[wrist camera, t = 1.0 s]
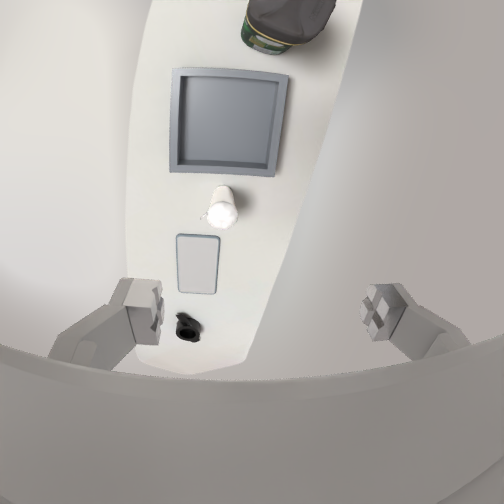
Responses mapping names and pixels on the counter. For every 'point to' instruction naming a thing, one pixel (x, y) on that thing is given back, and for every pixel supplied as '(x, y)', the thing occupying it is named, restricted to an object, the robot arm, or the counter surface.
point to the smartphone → (197, 263)
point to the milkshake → (222, 209)
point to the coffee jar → (284, 23)
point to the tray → (225, 121)
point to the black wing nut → (188, 329)
